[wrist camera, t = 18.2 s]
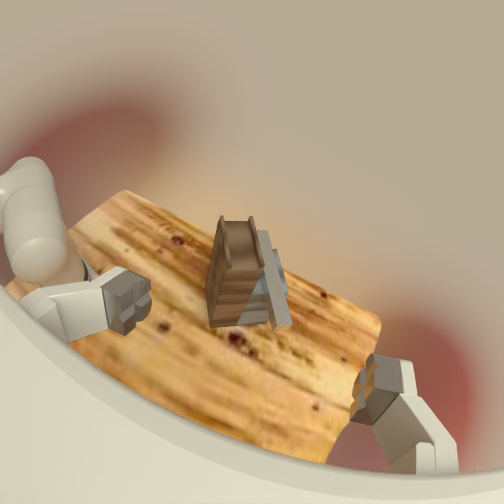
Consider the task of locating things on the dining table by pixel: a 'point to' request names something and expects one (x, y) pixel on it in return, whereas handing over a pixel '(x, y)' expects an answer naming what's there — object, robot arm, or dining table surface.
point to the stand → (237, 276)
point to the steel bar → (273, 287)
